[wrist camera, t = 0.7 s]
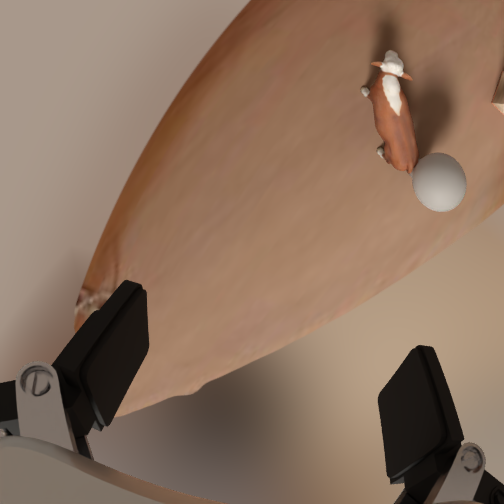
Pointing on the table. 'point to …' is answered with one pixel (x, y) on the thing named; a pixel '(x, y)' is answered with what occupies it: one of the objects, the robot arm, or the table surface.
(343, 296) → the table surface
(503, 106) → the birch block
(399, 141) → the bull figurine
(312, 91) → the table surface
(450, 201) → the lightbulb
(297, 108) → the table surface
